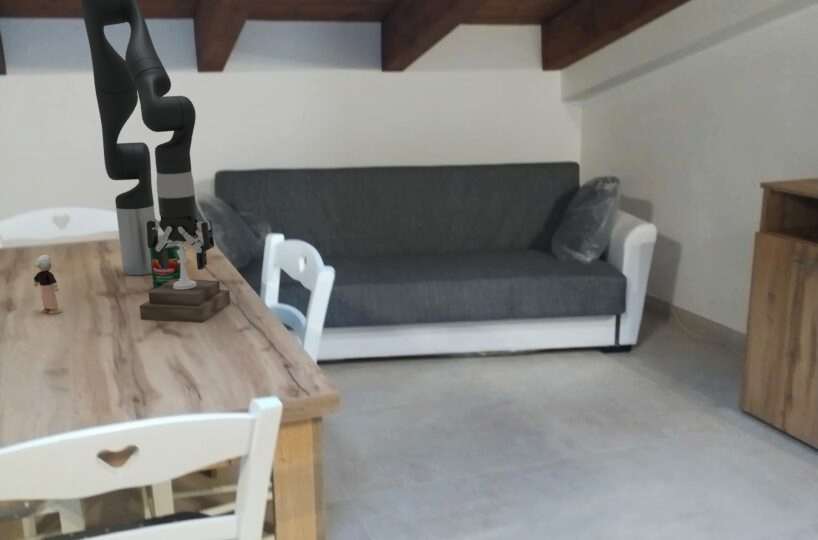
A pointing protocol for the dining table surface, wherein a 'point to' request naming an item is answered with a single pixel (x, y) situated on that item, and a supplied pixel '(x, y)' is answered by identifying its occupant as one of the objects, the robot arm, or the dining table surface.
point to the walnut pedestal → (185, 302)
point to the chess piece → (183, 271)
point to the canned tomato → (169, 273)
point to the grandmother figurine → (47, 285)
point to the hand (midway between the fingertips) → (183, 268)
